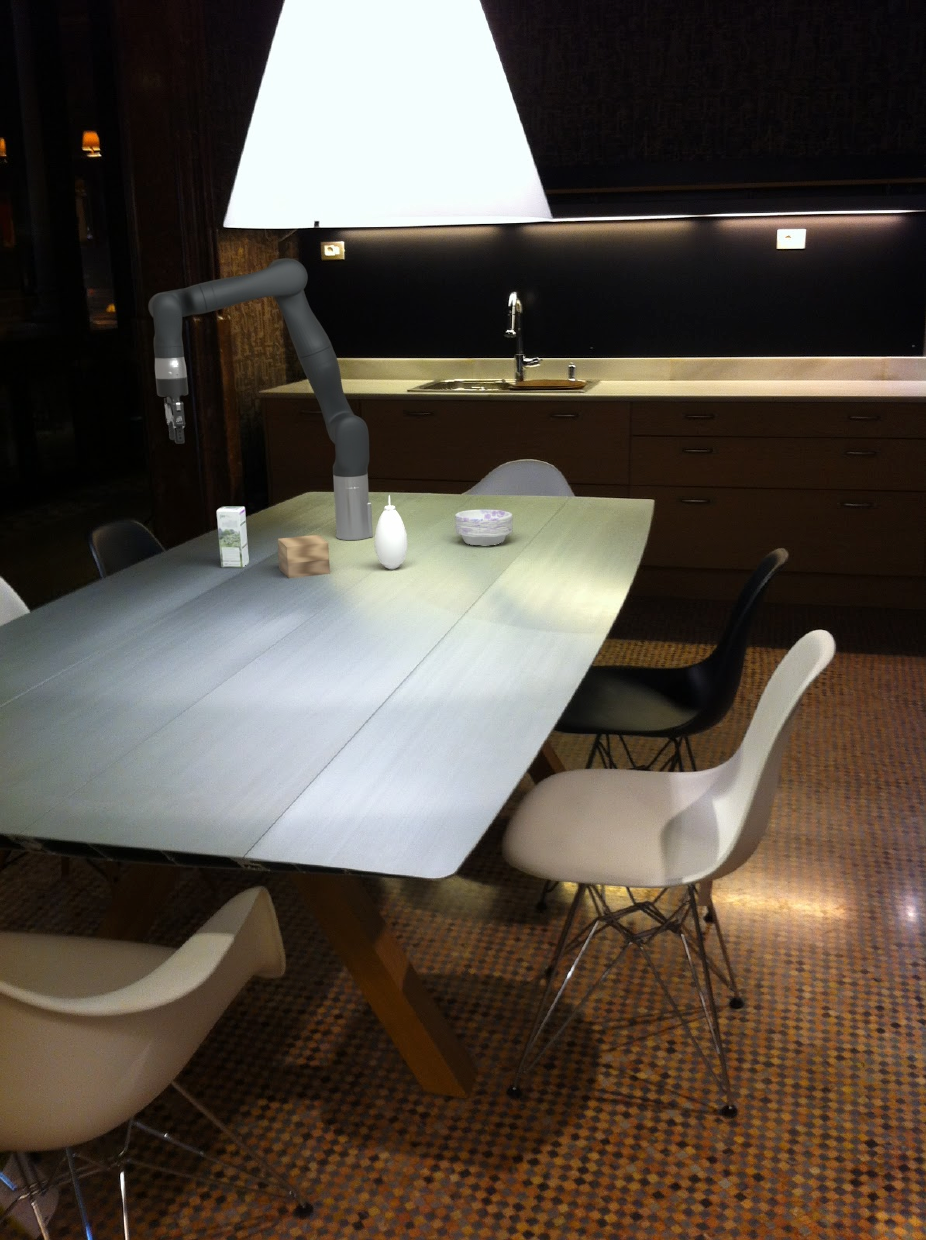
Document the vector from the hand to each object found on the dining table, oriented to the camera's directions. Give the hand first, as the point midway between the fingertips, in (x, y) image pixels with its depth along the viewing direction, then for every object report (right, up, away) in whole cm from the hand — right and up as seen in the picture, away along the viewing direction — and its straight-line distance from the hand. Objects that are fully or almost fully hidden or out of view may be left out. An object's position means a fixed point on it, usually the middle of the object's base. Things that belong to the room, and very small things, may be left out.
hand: (177, 441), depth 293 cm
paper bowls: (+78, -25, +14) cm, 83 cm away
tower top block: (+34, -30, -13) cm, 47 cm away
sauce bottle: (+55, -33, -11) cm, 65 cm away
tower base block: (+34, -34, -12) cm, 49 cm away
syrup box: (+15, -32, -4) cm, 35 cm away
